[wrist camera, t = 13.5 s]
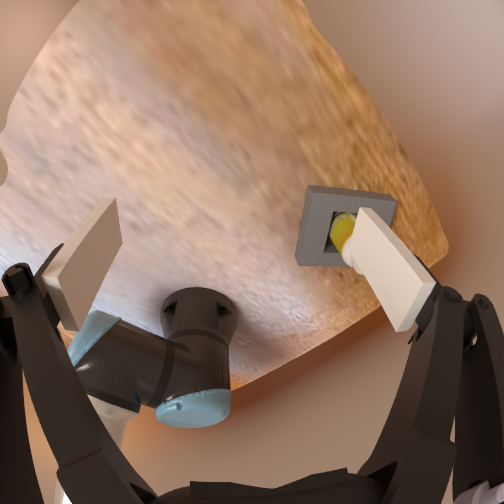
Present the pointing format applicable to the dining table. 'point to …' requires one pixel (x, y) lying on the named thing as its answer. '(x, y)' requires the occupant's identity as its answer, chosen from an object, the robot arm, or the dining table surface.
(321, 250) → the bottle holder
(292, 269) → the dining table surface
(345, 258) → the pill bottle
